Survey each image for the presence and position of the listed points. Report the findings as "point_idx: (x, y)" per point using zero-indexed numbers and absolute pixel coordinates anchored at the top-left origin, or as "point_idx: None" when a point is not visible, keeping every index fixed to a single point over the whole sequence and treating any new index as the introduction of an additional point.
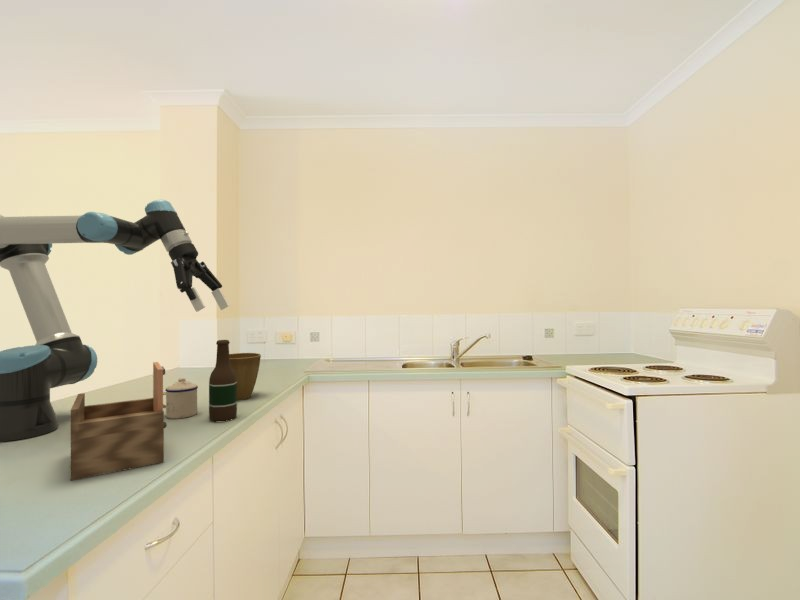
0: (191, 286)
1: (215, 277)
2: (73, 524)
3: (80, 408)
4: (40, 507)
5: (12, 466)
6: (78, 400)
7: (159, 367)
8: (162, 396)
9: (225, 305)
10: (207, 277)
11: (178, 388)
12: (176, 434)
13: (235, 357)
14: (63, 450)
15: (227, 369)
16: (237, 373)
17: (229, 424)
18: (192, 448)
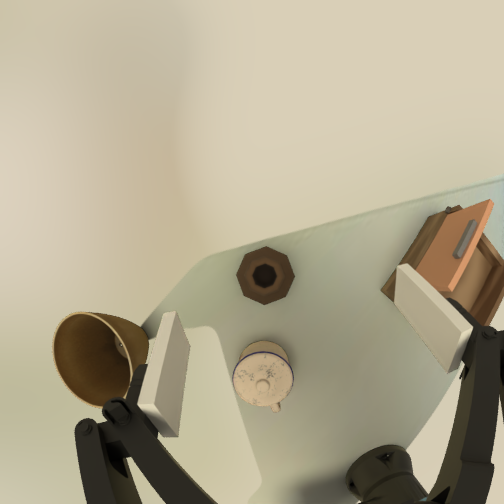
0: (482, 330)
1: (86, 487)
2: (498, 192)
3: (500, 284)
4: (497, 239)
5: (461, 360)
6: (496, 306)
7: (484, 219)
8: (466, 208)
9: (178, 325)
10: (210, 500)
11: (287, 368)
12: (355, 285)
13: (76, 386)
14: (425, 366)
15: (272, 256)
16: (135, 338)
17: (292, 241)
18: (391, 217)
